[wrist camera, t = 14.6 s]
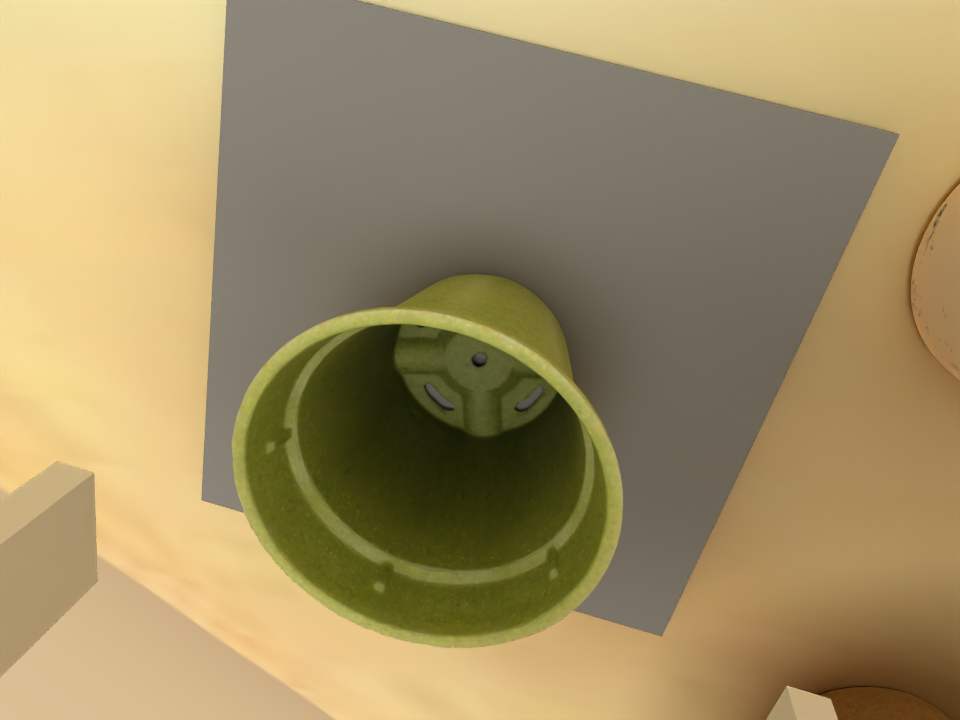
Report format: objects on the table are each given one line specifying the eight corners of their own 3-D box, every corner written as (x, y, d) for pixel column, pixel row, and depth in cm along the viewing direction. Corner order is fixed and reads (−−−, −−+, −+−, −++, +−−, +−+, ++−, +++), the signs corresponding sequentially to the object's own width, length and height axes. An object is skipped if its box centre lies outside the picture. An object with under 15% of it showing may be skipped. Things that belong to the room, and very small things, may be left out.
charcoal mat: (892, 132, 19) (899, 134, 19) (660, 627, 27) (661, 636, 27) (236, -29, 20) (228, -32, 20) (207, 493, 29) (201, 500, 28)
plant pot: (496, 512, 26) (451, 704, 18) (304, 360, 25) (165, 494, 17) (674, 352, 22) (715, 505, 14) (459, 162, 21) (374, 216, 13)
